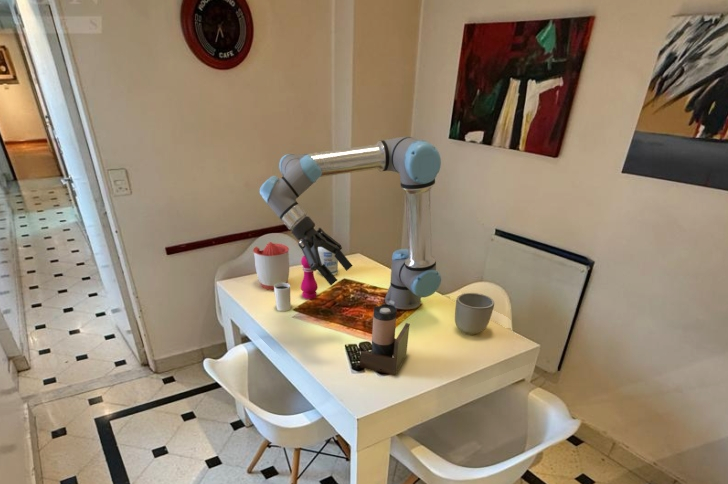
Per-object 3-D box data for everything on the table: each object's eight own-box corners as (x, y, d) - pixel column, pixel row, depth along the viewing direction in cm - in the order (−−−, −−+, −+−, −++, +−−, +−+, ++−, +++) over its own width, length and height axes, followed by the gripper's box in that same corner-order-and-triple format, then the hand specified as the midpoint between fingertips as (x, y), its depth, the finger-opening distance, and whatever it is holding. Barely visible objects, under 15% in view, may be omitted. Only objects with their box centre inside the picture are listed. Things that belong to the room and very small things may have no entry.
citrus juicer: (275, 275, 222) (272, 233, 211) (297, 285, 212) (295, 242, 200) (248, 283, 214) (243, 240, 202) (270, 295, 204) (265, 250, 192)
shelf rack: (372, 348, 167) (374, 317, 160) (406, 355, 164) (409, 323, 156) (360, 367, 157) (361, 334, 149) (395, 375, 153) (398, 342, 146)
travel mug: (391, 368, 157) (395, 315, 145) (369, 365, 158) (371, 312, 146) (393, 356, 163) (398, 304, 151) (372, 354, 164) (375, 302, 152)
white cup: (287, 312, 190) (286, 290, 184) (273, 310, 192) (271, 287, 186) (294, 306, 195) (292, 283, 189) (279, 303, 197) (278, 281, 191)
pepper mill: (320, 295, 204) (320, 250, 192) (311, 301, 199) (309, 255, 187) (307, 291, 207) (306, 247, 195) (298, 297, 202) (295, 252, 190)
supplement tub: (325, 278, 220) (324, 247, 211) (314, 272, 226) (313, 242, 217) (341, 274, 224) (342, 244, 216) (330, 268, 231) (330, 238, 222)
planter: (464, 319, 187) (469, 289, 179) (494, 331, 179) (501, 300, 171) (444, 330, 179) (449, 299, 171) (475, 343, 171) (481, 312, 163)
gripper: (308, 220, 158) (348, 269, 163) (273, 242, 140) (319, 296, 144) (322, 206, 154) (362, 256, 158) (287, 226, 135) (334, 282, 139)
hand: (342, 275), depth 151 cm, fingers open, 13 cm apart
